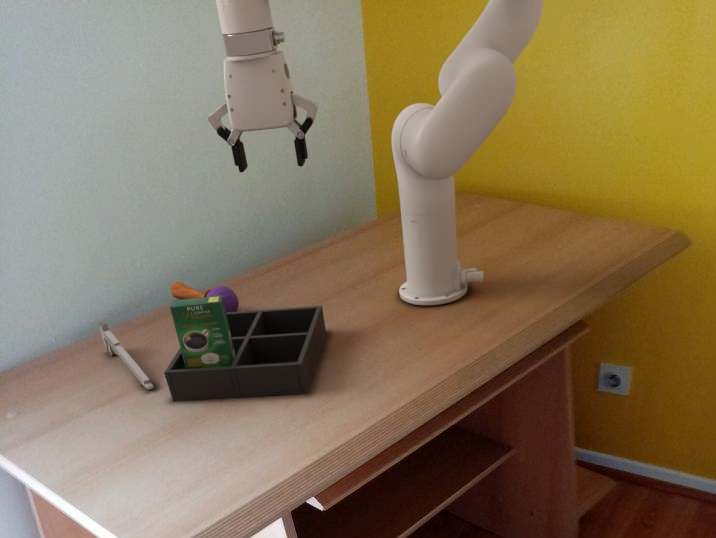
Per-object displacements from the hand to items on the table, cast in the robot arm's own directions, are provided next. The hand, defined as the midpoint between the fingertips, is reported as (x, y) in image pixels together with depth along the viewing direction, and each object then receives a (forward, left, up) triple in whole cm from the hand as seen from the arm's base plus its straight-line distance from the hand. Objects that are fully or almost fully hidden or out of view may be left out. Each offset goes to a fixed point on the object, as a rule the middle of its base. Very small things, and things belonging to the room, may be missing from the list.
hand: (272, 167), depth 123 cm
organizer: (+5, +17, -26) cm, 32 cm away
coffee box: (+10, +22, -26) cm, 35 cm away
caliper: (+27, +16, -26) cm, 41 cm away
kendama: (+20, -8, -26) cm, 34 cm away
